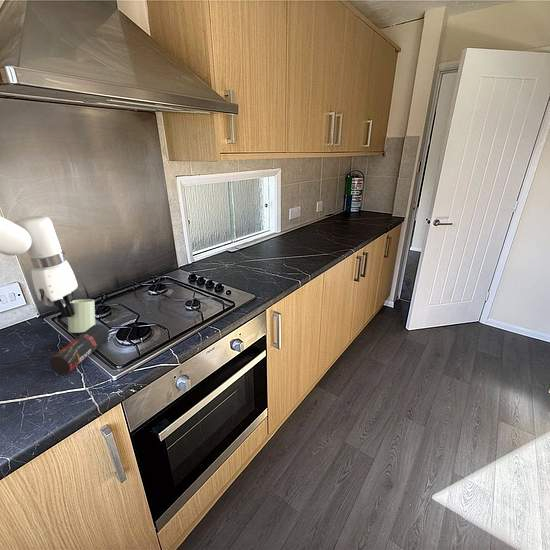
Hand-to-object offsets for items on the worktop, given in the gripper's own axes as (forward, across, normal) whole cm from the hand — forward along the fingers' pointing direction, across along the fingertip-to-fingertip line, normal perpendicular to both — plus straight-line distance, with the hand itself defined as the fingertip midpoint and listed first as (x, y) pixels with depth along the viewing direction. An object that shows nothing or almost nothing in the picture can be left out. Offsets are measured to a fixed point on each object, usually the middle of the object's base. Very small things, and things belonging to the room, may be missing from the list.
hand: (68, 315), depth 91 cm
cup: (+7, -3, 0) cm, 8 cm away
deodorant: (+5, +16, +10) cm, 19 cm away
